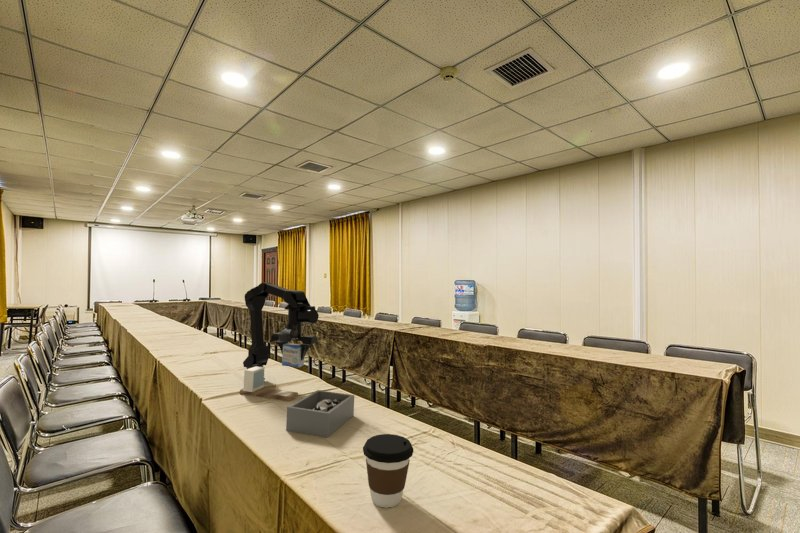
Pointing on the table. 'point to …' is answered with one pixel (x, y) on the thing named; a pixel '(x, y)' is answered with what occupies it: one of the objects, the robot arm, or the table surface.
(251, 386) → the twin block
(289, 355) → the medicine box
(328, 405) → the camera
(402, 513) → the table surface
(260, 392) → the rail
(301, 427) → the tray
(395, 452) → the coffee cup
